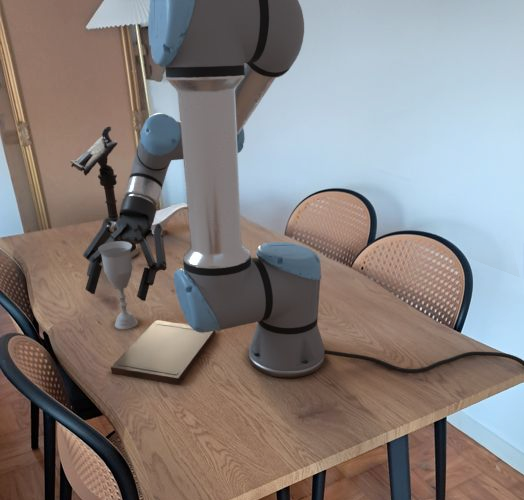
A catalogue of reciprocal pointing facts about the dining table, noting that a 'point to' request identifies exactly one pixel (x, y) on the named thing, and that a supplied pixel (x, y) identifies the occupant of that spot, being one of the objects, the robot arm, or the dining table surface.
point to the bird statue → (103, 174)
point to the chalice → (119, 276)
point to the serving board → (163, 353)
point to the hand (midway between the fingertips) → (115, 295)
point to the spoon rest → (167, 214)
